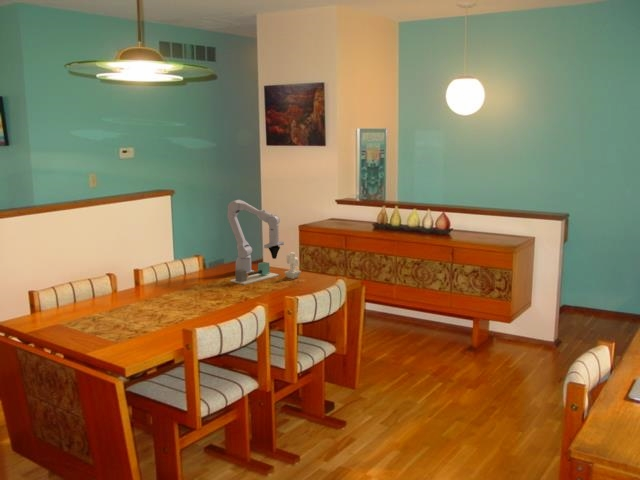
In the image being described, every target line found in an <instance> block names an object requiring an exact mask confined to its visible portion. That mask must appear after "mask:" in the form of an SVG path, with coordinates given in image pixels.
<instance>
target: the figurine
mask: <svg viewBox="0 0 640 480" xmlns="http://www.w3.org/2000/svg"><path fill="white" fill-rule="evenodd" d="M286 263H287V264H288V265H289V268H290V269H289V270H286V271H284V275H285V276H286V278H288V279H292V280H293V279H296V278H299V276H300V274H301V273H302V270H298V269H296V267H299V257H296V252H293V251H291V252H289V254H286Z"/></svg>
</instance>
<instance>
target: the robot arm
mask: <svg viewBox="0 0 640 480" xmlns="http://www.w3.org/2000/svg"><path fill="white" fill-rule="evenodd" d="M240 211H247V212H249V213H251V214H253V215H255V216H257V218H258V219H259V220H261V221H263V222H265V223H267V225H268V235H269V236H268V239H269V240H268V241H269V242H268V243H266V244H264V247H263V248H264V249H268V250H269V252H270V254H271V258H272V259H273V260H274V259H275V260H276V259H277V256H278V253H279V251H280V249H281V246H284V245H285V242H284V241H279V240H280V238H279V237H280V235H279V234H280V232H279V231H280V230H279V227H280V225H279V224H280V217H279V216H278V215H277V214H273V213H270V212H268V211H267V210H266V209H260V210H259V209H258V208H256V207H254V206H253V205H250V203H247V202H246V201H244V200H242V199H235V200H231V201H230V202H229V203H228V205H227V214H226V218H227V220H228V222H229V225H230V227H231V231H232V233H233V236H234V239H235V241H236V244H237V245H236V249H237V255H238V257H237V258H236V259H235V270H239V269H242V270H246V273H248V274H250V273H254V272H255V270H253V269H252V256H251V255H252V254H253V247H252V246H250V243H249V242H248V240H246V237H245V235H244V233H243V229H242V227H241V225H240V222H239V219H238V215H239V214H240V213H239V212H240Z"/></svg>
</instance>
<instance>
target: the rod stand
mask: <svg viewBox="0 0 640 480" xmlns="http://www.w3.org/2000/svg"><path fill="white" fill-rule="evenodd" d="M234 273H235V275H234V278H233V279H230V280H229V281H230V283H235V284H240V285H243V286H244V285H245V286H246V285H249V284H253V283H257V282H261V281H265V280H269V279H272V278H276V277H279V276H280V274H278V273H274V272H270V271H269V273H270V274H266V275H261V274H258V273H262V271H258V270H257V271H254V272H250V273H246V270H242V269H239V270H236V269H235V270H234Z"/></svg>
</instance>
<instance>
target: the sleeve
mask: <svg viewBox="0 0 640 480" xmlns="http://www.w3.org/2000/svg"><path fill="white" fill-rule="evenodd" d="M258 271H262V273H258V274H261V275H266V274H270V273H271V272H270V262H266V261H263V262H258V263H257V272H258ZM269 272H270V273H269Z"/></svg>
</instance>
